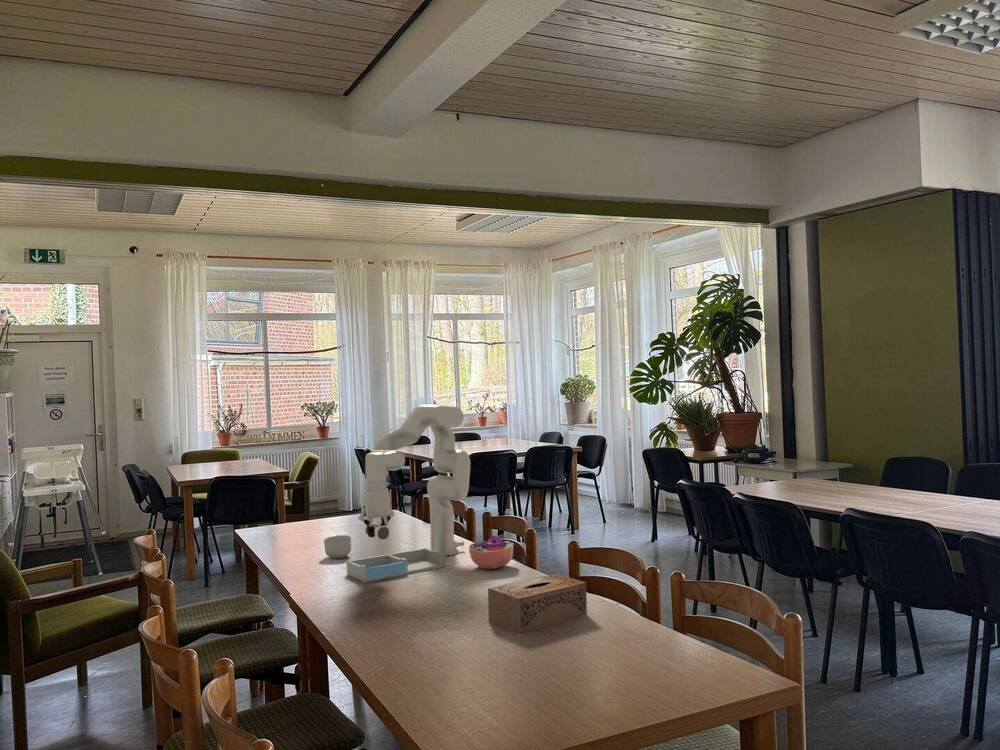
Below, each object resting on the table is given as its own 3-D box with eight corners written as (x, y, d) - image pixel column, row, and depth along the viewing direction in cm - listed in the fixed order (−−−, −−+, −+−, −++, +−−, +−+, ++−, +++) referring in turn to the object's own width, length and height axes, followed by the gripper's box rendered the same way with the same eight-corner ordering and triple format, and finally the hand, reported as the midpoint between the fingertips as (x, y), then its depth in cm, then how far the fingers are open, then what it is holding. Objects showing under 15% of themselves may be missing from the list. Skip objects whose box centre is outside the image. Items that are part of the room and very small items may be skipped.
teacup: (348, 560, 318) (347, 540, 318) (321, 560, 318) (320, 540, 318) (355, 552, 332) (354, 533, 332) (329, 552, 332) (328, 533, 332)
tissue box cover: (554, 605, 249) (554, 573, 249) (586, 615, 238) (586, 582, 238) (488, 622, 234) (488, 588, 234) (519, 634, 222) (518, 598, 222)
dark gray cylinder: (365, 536, 296) (365, 524, 296) (376, 534, 298) (376, 522, 298) (378, 540, 287) (377, 527, 288) (389, 538, 290) (388, 526, 290)
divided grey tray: (426, 560, 314) (426, 547, 314) (445, 566, 303) (445, 552, 303) (347, 574, 294) (346, 560, 294) (364, 582, 283) (364, 567, 283)
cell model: (458, 571, 295) (458, 540, 295) (484, 560, 313) (484, 531, 313) (499, 575, 288) (498, 544, 288) (523, 563, 305) (523, 534, 305)
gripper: (391, 483, 301) (392, 531, 301) (350, 487, 291) (351, 537, 291) (401, 485, 295) (402, 534, 295) (360, 489, 285) (360, 540, 285)
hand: (377, 535), depth 293 cm, fingers closed on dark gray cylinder, 4 cm apart
